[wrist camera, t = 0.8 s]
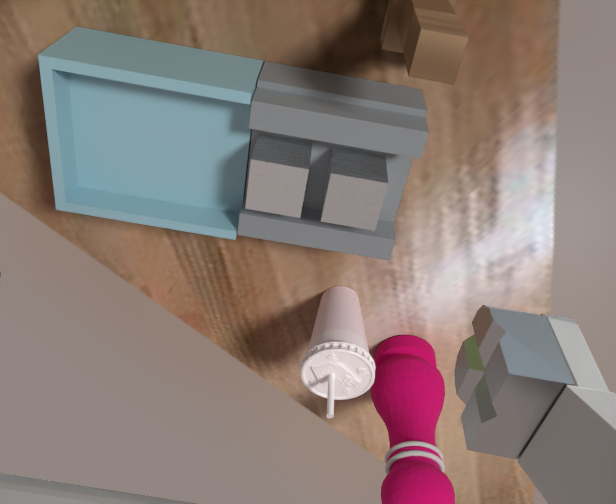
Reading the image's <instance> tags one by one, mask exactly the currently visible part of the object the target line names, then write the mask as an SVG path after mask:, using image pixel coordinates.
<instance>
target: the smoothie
mask: <svg viewBox="0 0 616 504" xmlns="http://www.w3.org/2000/svg"><path fill="white" fill-rule="evenodd" d="M375 368H376V367H375V363H374V360H373V358H372V357H371V355H370V354H369V349H368V344H367V339H366V334H365V329H364V324H363V319H362V314H361V308H360V303H359V298H358V296H357V294H356V293H355V292H354V291H353V290H352V289H350V288H347V287H343V286H336V287H332V288H329V289H328V290H326V291H325V292H324V293H323V295H322V297H321V301H320V305H319V309H318V313H317V317H316V321H315V324H314V328H313V332H312V336H311V340H310V344H309V347H308V352H307V353H306V354H305V355H304V357H303V359H302V362H301V378H302V381H303V383H304V385H305V386H306V387H307V388H308V389H309V390H310V391H311V392H313V393H315V394H316V395H318V396H321V397H324V398H327V418H330V419H331V418H333V417H334V400H345V399H351V398H355V397H357V396H360V395H362V394H363V393H365V392H366V391H368V390H369V389H370V387H371V386H372V385H373V383H374V379H375Z"/></svg>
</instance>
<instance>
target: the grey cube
mask: <svg viewBox="0 0 616 504" xmlns="http://www.w3.org/2000/svg"><path fill="white" fill-rule="evenodd" d="M387 186H388V174H387V164H386V156H380V155H375V154H369V153H363V152H358V151H352V150H347V149H341V148H335V147H332V152H331V157H330V162H329V167H328V172H327V176H326V181H325V186H324V191H323V200H322V212H321V222H327V223H332V224H338V225H344V226H350V227H356V228H362V229H368V230H373V231H375V229H376V226H377V222H378V218H379V215H380V211H381V208H382V204H383V201H384V197H385V194H386V190H387Z"/></svg>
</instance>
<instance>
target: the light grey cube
mask: <svg viewBox="0 0 616 504" xmlns="http://www.w3.org/2000/svg"><path fill="white" fill-rule="evenodd" d="M311 151H312V143H307V142H301V141H296V140H290V139H284V138H279V137H273V136H267V135H262V134H258V138H257V141H256V144H255V147H254V151H253V154H252V157H251V162H250V171H249V180H248V188H247V197H246V206H245V209H251V210H256V211H262V212H268V213H274V214H280V215H286V216H291V217H297V218H300V216H301V211H302V205H303V200H304V195H305V189H306V184H307V178H308V173H309V166H310V159H311Z"/></svg>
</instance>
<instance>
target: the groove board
mask: <svg viewBox="0 0 616 504" xmlns="http://www.w3.org/2000/svg"><path fill="white" fill-rule="evenodd" d="M426 114H427V107H426V103H425V99H424V95H423V91H422V90H421V89H415V88H410V87H404V86H399V85H394V84H388V83H383V82H377V81H372V80H366V79H361V78H355V77H350V76H344V75H339V74H333V73H328V72H322V71H317V70H311V69H306V68H300V67H295V66H289V65H284V64H279V63H273V62H268V61H265V62H264V65H263V67H262V70H261V73H260V75H259V78H258V83H257V88H256V91H255V94H254V96H253V99H252V105H251V114H250V123H249V128H250V129H252V136H251V145H250V154H249V163H248V172H247V180H246V189H245V197H244V201H243V204H242V207H241V211H240V215H239V224H238V234H237V235H241V236H247V237H253V238H259V239H264V240H270V241H276V242H282V243H288V244H294V245H300V246H306V247H312V248H318V249H324V250H330V251H336V252H342V253H347V254H353V255H359V256H365V257H371V258H377V259H383V260H390V257H391V254H392V250H393V247H394V244H395V241H396V238H395V228H394V220H395V217H396V213H397V210H398V207H399V203H400V200H401V197H402V193H403V190H404V187H405V184H406V180H407V177H408V174H409V170H410V167H411V164H412V160H413V158H419V159H421V157H422V154H423V151H424V147H425V144H426V141H427V138H428V135H429V130H428V126H427V122H426ZM258 134H262V135H267V136H273V137H279V138H284V139H290V140H296V141H301V142H307V143H312V151H311V159H310V166H309V173H308V178H307V184H306V189H305V195H304V200H303V205H302V211H301V216H300V218H297V217H291V216H286V215H280V214H274V213H268V212H262V211H256V210H251V209H245V206H246V197H247V188H248V180H249V171H250V162H251V157H252V154H253V151H254V147H255V144H256V141H257V138H258ZM332 147H335V148H341V149H347V150H352V151H358V152H363V153H369V154H375V155H380V156H386V164H387V174H388V186H387V190H386V194H385V197H384V201H383V204H382V208H381V211H380V215H379V218H378V222H377V226H376V229H375V231H373V230H368V229H362V228H356V227H350V226H344V225H338V224H332V223H327V222H321V212H322V200H323V191H324V186H325V181H326V176H327V172H328V167H329V162H330V157H331V152H332Z"/></svg>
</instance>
